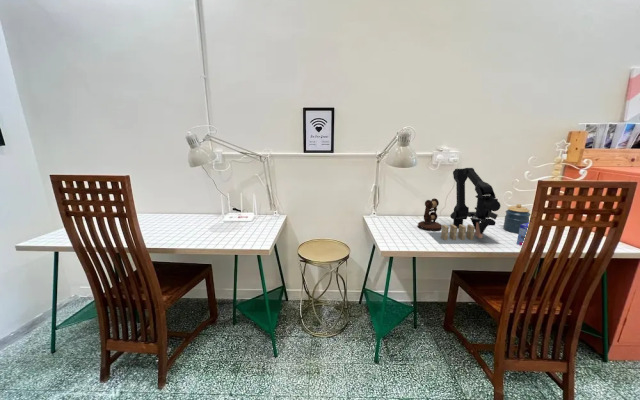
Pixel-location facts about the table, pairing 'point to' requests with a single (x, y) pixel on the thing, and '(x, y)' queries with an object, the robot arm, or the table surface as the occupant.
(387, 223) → the table surface
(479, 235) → the domino
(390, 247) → the table surface
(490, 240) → the mat
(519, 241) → the ink cartridge box
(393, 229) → the table surface
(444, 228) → the domino
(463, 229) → the domino
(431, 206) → the brown animal figurine
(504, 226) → the canister
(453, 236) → the domino
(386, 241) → the table surface
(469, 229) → the domino
